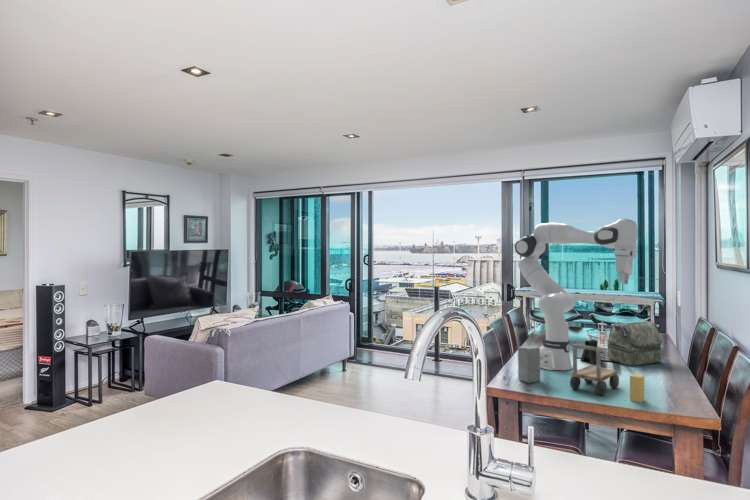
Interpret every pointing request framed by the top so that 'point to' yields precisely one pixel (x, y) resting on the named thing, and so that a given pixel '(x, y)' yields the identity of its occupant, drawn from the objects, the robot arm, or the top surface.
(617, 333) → the lunch bag
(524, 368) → the gray hexagonal prism
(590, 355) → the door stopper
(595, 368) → the trolley
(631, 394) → the yellow rectangular block
